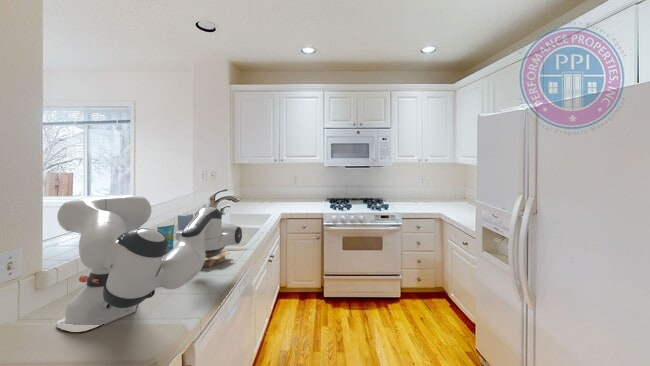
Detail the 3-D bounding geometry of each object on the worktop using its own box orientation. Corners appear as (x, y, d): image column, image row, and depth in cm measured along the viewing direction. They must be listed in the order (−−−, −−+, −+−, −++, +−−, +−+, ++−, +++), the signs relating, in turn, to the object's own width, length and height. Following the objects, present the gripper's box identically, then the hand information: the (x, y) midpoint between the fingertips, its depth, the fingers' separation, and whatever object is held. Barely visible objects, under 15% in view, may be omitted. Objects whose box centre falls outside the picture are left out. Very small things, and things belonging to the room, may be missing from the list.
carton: (210, 270, 142) (210, 262, 141) (180, 266, 148) (180, 258, 148) (235, 258, 159) (234, 250, 158) (207, 254, 165) (206, 247, 165)
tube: (161, 267, 147) (158, 227, 145) (158, 265, 150) (155, 226, 149) (177, 263, 152) (175, 225, 150) (174, 261, 155) (172, 223, 154)
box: (187, 251, 136) (185, 216, 135) (179, 250, 138) (177, 215, 137) (194, 248, 141) (193, 214, 139) (187, 247, 142) (185, 213, 141)
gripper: (191, 246, 124) (165, 242, 129) (224, 233, 143) (201, 231, 148) (190, 230, 124) (164, 228, 129) (224, 220, 143) (200, 218, 148)
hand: (184, 229), depth 139 cm, fingers closed on box, 4 cm apart
